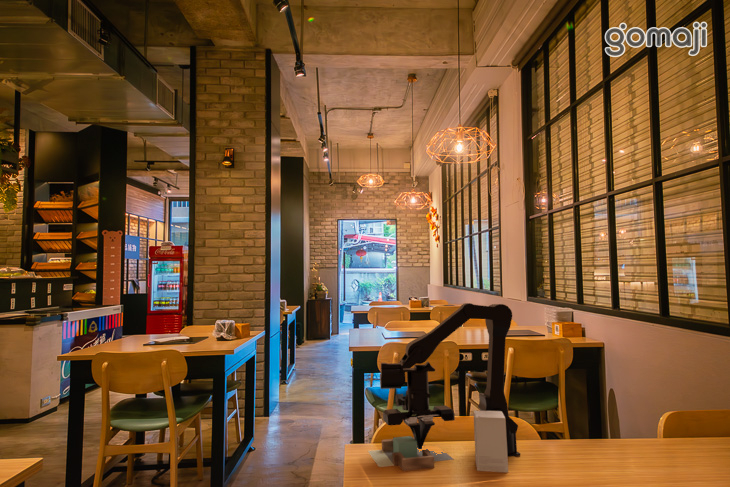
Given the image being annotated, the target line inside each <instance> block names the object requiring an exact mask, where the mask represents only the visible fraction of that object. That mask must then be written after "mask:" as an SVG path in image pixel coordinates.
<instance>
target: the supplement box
mask: <svg viewBox="0 0 730 487" xmlns="http://www.w3.org/2000/svg"><path fill="white" fill-rule="evenodd" d="M473 429H474V430H473V431H474V449H475V450H474V452H475V453H474V456H475V465H476V470H477V472H492V473H493V472H494V473H509V460H508V458H509V457H508V455H507V438H506V419H505V416H504V415H503V413H502V411H480V410H473Z"/></svg>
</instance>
